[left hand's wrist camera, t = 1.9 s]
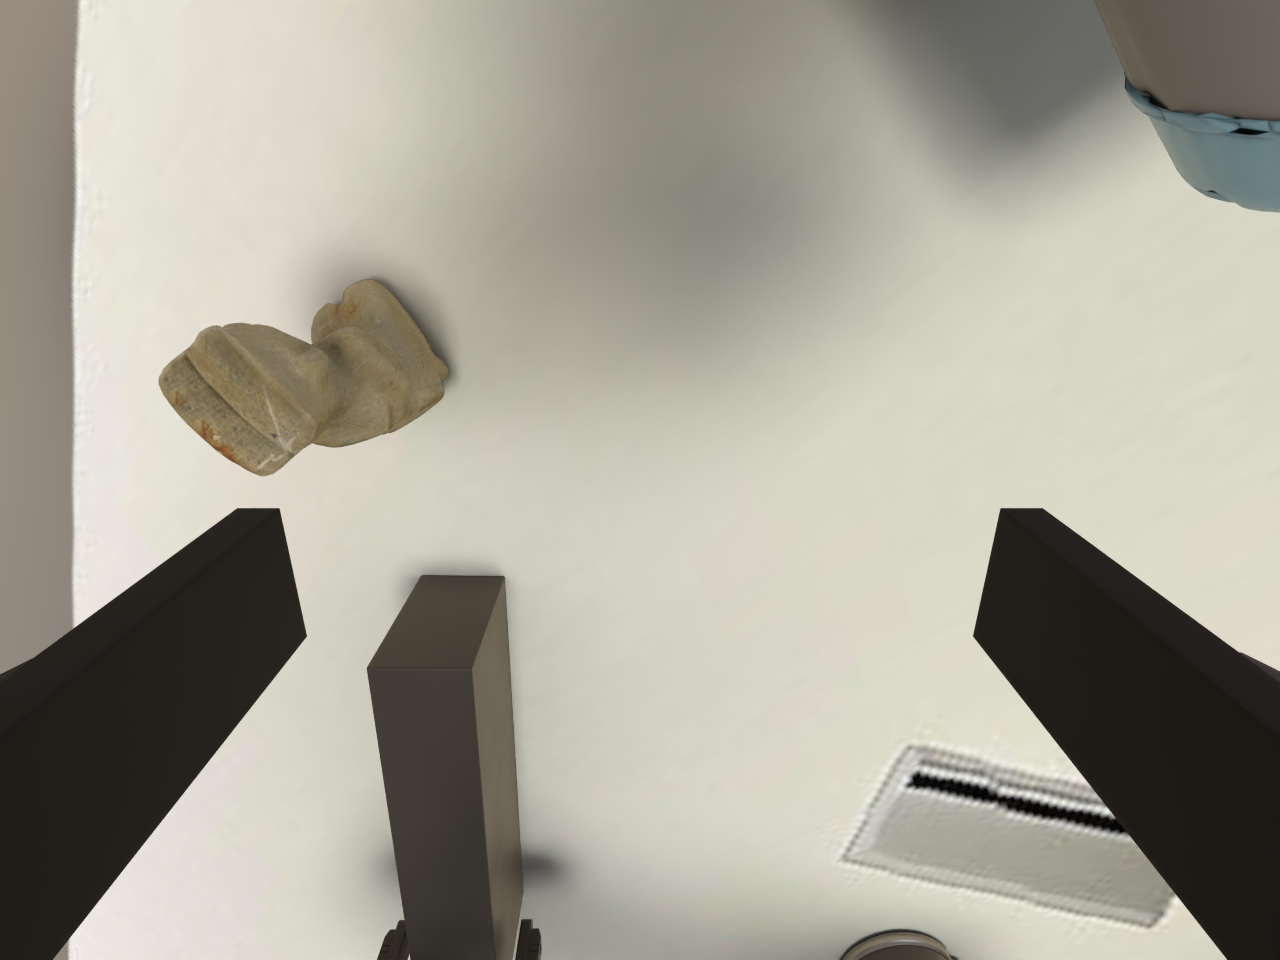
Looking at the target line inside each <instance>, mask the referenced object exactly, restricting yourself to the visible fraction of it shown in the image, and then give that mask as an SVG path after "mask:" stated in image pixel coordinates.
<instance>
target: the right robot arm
mask: <svg viewBox="0 0 1280 960" xmlns="http://www.w3.org/2000/svg"><path fill="white" fill-rule="evenodd" d="M541 951H542V949H541V935H540V931H539V929H533V922H532V919H522V920H521V926H520V932H519V939H518V946H517V952H516V959H515V960H540V959H541ZM409 953H410V952H409V945H408V939H407V932H406V925H405V920H399V922H398V925H397V928H396V930H390V931H389V932H388V933H387V935H386V936H385V938H384V941H383V944H382V947H381V950H380V953H379V956H378V959H377V960H408V957H409ZM842 960H957V959H953V958H951V957H950V956H949V953H948V952H947V950H946V949H945V948H944V946H943V945H941V944H940V943H939V942H938V941H936V940H934V939H933V938H930V937H928V936H925V935H922V934H917V933H910V932H895V933H887V934H883V935H879V936H876V937H873V938H870V939H868V940H866V941H863V942H862V943H860V944H858V945H857V946H855V947H854V948H853V949H851V950H850V951H849V952H848V953H847V954H846V955H845V957H844V958H843V959H842Z"/></svg>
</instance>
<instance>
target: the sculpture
mask: <svg viewBox="0 0 1280 960" xmlns="http://www.w3.org/2000/svg"><path fill="white" fill-rule="evenodd" d="M343 298H344V299H343V302H342V303H341V305H340V306H339V305H335V304H330V303H328V304H326V305H325V306H324V307H323V308H321V309H320V310H319V311H318V312H317V314H316V315H315V317H314V320H313V323H312V329H311V338H312V343H313V344H312V345H310V344H308V343H306V342H304V341H302V340H300V339H297V338H295V337H293V336H291V335H288V334H286V333H284V332H282V331H280V330H278V329H276V328H273V327H270V326H265V325H251V324H246V323H233V324H228V325H225V326H224V327H220V326H211V327H209V328H206V329H204V330H203V331H201V332H200V333H199V334H198V336H197V338H196V340H195V341H194V343H193V344H192V345H191V346H190V347H189V348H188V349H186V350H185V351H184V352H182V353H181V354H180V355H179V356H177V357H176V358H175V359H174V360H172V361H171V362H170V363H169V364H168V365H167V366H166V367H165V368H164V369H163V371H162V373H161V375H160V376H159V386H160V388H161V390H162V393H163V395H164V396H165V398H166V399H167V400H168V402H169V403H170V405H171V406H172V407H173V408H174V410H175V411H176V412H177V413H178V414H179V416H180V417H181V418H182V419H183V420H184V421H185V422H186V423H187V424H188V425H189V426H190V427H191V428H192V429H193V430H194V431H195V432H196V433H197V434H199V435H200V436H201V437H202V438H203V439H204V440H205V441H206V442H207V443H209V444H210V445H211V446H212V447H213V448H214V449H215V450H216V451H218V452H219V453H220V454H222V455H223V456H224V457H226V458H227V459H229V460H230V461H232V462H234V463H236V464H238V465H239V466H241V467H243V468H244V469H246V470H248V471H250V472H252V473H254V474H257V475H259V476H267V475H270V474H274V473H275V472H276V471H278V470H279V469H280V468H282V467H283V466H284V465H285V464H286V463H287V462H288V461H289V460H290V459H292V458H293V457H294V456H295V455H296V454H297V453H299V452H300V451H301V450H302V449H303V448H305V447H307V446H308V445H310V444H311V443H313V444H317V445H322V446H327V447H343V446H348V445H352V444H356V443H359V442H362V441H365V440H369V439H371V438H374V437H376V436H379V435H381V434H386V433H392V432H394V431H396V430H398V429H400V428H402V427H404V426H405V425H407V424H409V423H410V422H412V421H413V420H415V419H416V418H418V417H420V416H421V415H422V414H424V413H425V412H426V411H428V410H429V409H430V408H431V407H433V406H434V405H435V404H436V403H438V402H439V401H440V400H441V399H442V397H443V395H444V386H443V384H442V381H443V380H444V379H445V378H446V377H447V376H448V374H449V372H448V368H447V367H446V365H445V364H444V362H443V361H442V360H441V359H440V358H438V357H436V356H435V355H434V353H433V352H432V350H431V348H430V346H429V344H428V342H427V340H426V339H425V337H424V335H423V334H422V332H421V331H420V329H419V328H418V327H417V325H416V324H415V323H414V321H413V320H412V319H411V317H410V316H409V314H408V313H407V312H406V310H405V309H404V308H403V307H402V305H401V304H400V303H399V302H398V300H397V299H396V298H395V297H394V296H393V295H392V294H391V293H390V292H389V291H388V290H387V289H386V288H385V287H384V286H382V285H381V284H380V283H379V282H377V281H374V280H368V279H365V280H361V281H358V282H356V283H354V284H352V285H351V286H349V287H348V288H347V289H346V290H345V291H344V293H343Z"/></svg>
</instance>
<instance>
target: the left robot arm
mask: <svg viewBox="0 0 1280 960" xmlns="http://www.w3.org/2000/svg"><path fill="white" fill-rule="evenodd" d="M1095 3H1096V5H1097V7H1098V10H1099V12H1100V14H1101V17H1102V19H1103V21H1104V24H1105V26H1106V28H1107V31H1108V33H1109V35H1110V38H1111V40H1112V42H1113V45H1114V47H1115V50H1116V52H1117V54H1118V57H1119V59H1120V61H1121V64H1122V66H1123V68H1124V71H1125V72H1124V74H1125V89H1126V91H1127V94H1128V96H1129V98H1130V99H1131V101H1132V103H1133V104H1134V105H1135V106H1136V107H1137V108H1138V109H1139V110H1140V111H1142V112H1143V113H1144V114H1146V115H1148V116H1149V118H1150V120H1151V122H1152V123H1153V125H1154V127H1155V129H1156V131H1157V133H1158V135H1159V137H1160V139H1161V141H1162V143H1163V144H1164V146H1165V148H1166V150H1167V152H1168V154H1169V156H1170V158H1171V160H1172V162H1173V164H1174V165H1175V167H1176V169H1177V171H1178V172H1179V174H1180V175H1181V176H1182V177H1183V179H1184V180H1185V181H1186V182H1187V183H1188V184H1190V185H1191V186H1192V187H1193V188H1194V189H1196V190H1197V191H1199V192H1200V193H1202V194H1204V195H1205V196H1208V197H1211V198H1214V199H1218V200H1222V201H1226V202H1234V203H1236V204H1238V205H1239V206H1241V207H1243V208H1247V209H1251V210H1257V211H1267V212H1280V0H1095ZM306 637H307V634H306V630H305V625H304V620H303V616H302V611H301V606H300V602H299V597H298V592H297V588H296V583H295V579H294V574H293V569H292V565H291V560H290V555H289V551H288V546H287V541H286V537H285V532H284V527H283V523H282V518H281V513H280V509H279V508H237V509H236V510H234V511H233V512H232V513H230V514H229V515H228V516H226V517H225V518H224V519H222V520H221V521H219V522H218V523H217V524H215V525H214V526H213V527H211V528H210V529H209V530H207V531H206V532H204V533H203V534H202V535H200V536H199V537H198V538H196V539H195V540H194V541H192V542H191V543H189V544H188V545H187V546H185V547H184V548H183V549H181V550H180V551H179V552H177V553H176V554H174V555H173V556H172V557H170V558H169V559H168V560H166V561H165V562H164V563H162V564H161V565H160V566H158V567H157V568H155V569H154V570H153V571H151V572H150V573H149V574H147V575H146V576H145V577H143V578H142V579H140V580H139V581H138V582H136V583H135V584H134V585H132V586H131V587H130V588H128V589H127V590H125V591H124V592H123V593H121V594H120V595H119V596H117V597H116V598H115V599H113V600H112V601H110V602H109V603H108V604H106V605H105V606H104V607H102V608H101V609H100V610H98V611H97V612H96V613H94V614H93V615H91V616H90V617H89V618H87V619H86V620H85V621H83V622H82V623H81V624H79V625H78V626H76V627H75V628H74V629H72V630H71V631H70V632H68V633H67V634H66V635H64V636H63V637H62V638H60V639H59V640H57V641H56V642H55V643H53V644H52V645H51V646H49V647H48V648H46V649H45V650H44V651H42V652H41V653H40V654H38V655H37V656H36V657H34V658H32V659H30V660H28V661H26V662H24V663H22V664H20V665H18V666H16V667H14V668H12V669H10V670H8V671H6V672H4V673H2V674H0V960H53V959H54V957H55V956H56V955H57V954H58V952H59V951H60V950H61V948H62V947H63V946H64V945H65V943H66V942H67V941H68V940H69V938H70V937H71V936H72V934H73V933H74V932H75V931H76V929H77V928H78V927H79V926H80V924H81V923H82V922H83V920H84V919H85V918H86V917H87V915H88V914H89V913H90V912H91V910H92V909H93V908H94V906H95V905H96V904H97V903H98V901H99V900H100V899H101V898H102V896H103V895H104V894H105V892H106V891H107V890H108V889H109V887H110V886H111V885H112V884H113V882H114V881H115V880H116V878H117V877H118V876H119V875H120V873H121V872H122V871H123V870H124V868H125V867H126V866H127V864H128V863H129V862H130V861H131V859H132V858H133V857H134V856H135V854H136V853H137V852H138V851H139V849H140V848H141V847H142V845H143V844H144V843H145V842H146V840H147V839H148V838H149V837H150V835H151V834H152V833H153V831H154V830H155V829H156V828H157V826H158V825H159V824H160V823H161V821H162V820H163V819H164V817H165V816H166V815H167V814H168V812H169V811H170V810H171V809H172V807H173V806H174V805H175V803H176V802H177V801H178V800H179V798H180V797H181V796H182V795H183V793H184V792H185V791H186V789H187V788H188V787H189V786H190V784H191V783H192V782H193V781H194V779H195V778H196V777H197V775H198V774H199V773H200V772H201V770H202V769H203V768H204V767H205V765H206V764H207V763H208V761H209V760H210V759H211V758H212V756H213V755H214V754H215V753H216V751H217V750H218V749H219V747H220V746H221V745H222V744H223V742H224V741H225V740H226V739H227V737H228V736H229V735H230V733H231V732H232V731H233V730H234V728H235V727H236V726H237V725H238V723H239V722H240V721H241V720H242V718H243V717H244V716H245V714H246V713H247V712H248V711H249V709H250V708H251V707H252V706H253V704H254V703H255V702H256V700H257V699H258V698H259V697H260V695H261V694H262V693H263V692H264V690H265V689H266V688H267V686H268V685H269V684H270V683H271V681H272V680H273V679H274V678H275V676H276V675H277V674H278V672H279V671H280V670H281V669H282V667H283V666H284V665H285V664H286V662H287V661H288V660H289V658H290V657H291V656H292V655H293V653H294V652H295V651H296V650H297V648H298V647H299V646H300V644H301V643H302V642H303V641H304V639H305V638H306ZM973 637H974V638H975V639H976V641H977V642H978V643H979V644H980V646H981V647H982V648H983V650H984V651H985V652H986V653H987V655H988V656H989V657H990V658H991V660H992V661H993V662H994V664H995V665H996V666H997V667H998V669H999V670H1000V671H1001V672H1002V674H1003V675H1004V676H1005V678H1006V679H1007V680H1008V681H1009V683H1010V684H1011V685H1012V686H1013V688H1014V689H1015V690H1016V692H1017V693H1018V694H1019V695H1020V697H1021V698H1022V699H1023V700H1024V702H1025V703H1026V704H1027V706H1028V707H1029V708H1030V709H1031V711H1032V712H1033V713H1034V714H1035V716H1036V717H1037V718H1038V720H1039V721H1040V722H1041V723H1042V725H1043V726H1044V727H1045V728H1046V730H1047V731H1048V732H1049V733H1050V735H1051V736H1052V737H1053V739H1054V740H1055V741H1056V742H1057V744H1058V745H1059V746H1060V747H1061V749H1062V750H1063V751H1064V753H1065V754H1066V755H1067V756H1068V758H1069V759H1070V760H1071V761H1072V763H1073V764H1074V765H1075V767H1076V768H1077V769H1078V770H1079V772H1080V773H1081V774H1082V775H1083V777H1084V778H1085V779H1086V781H1087V782H1088V783H1089V784H1090V786H1091V787H1092V788H1093V789H1094V791H1095V792H1096V793H1097V795H1098V796H1099V797H1100V798H1101V800H1102V801H1103V802H1104V803H1105V805H1106V806H1107V807H1108V809H1109V810H1110V811H1111V812H1112V814H1113V815H1114V816H1115V817H1116V819H1117V820H1118V821H1119V823H1120V824H1121V825H1122V826H1123V828H1124V829H1125V830H1126V831H1127V833H1128V834H1129V835H1130V837H1131V838H1132V839H1133V840H1134V842H1135V843H1136V844H1137V845H1138V847H1139V848H1140V849H1141V851H1142V852H1143V853H1144V854H1145V856H1146V857H1147V858H1148V859H1149V861H1150V862H1151V863H1152V864H1153V866H1154V867H1155V868H1156V870H1157V871H1158V872H1159V873H1160V875H1161V876H1162V877H1163V878H1164V880H1165V881H1166V882H1167V884H1168V885H1169V886H1170V887H1171V889H1172V890H1173V891H1174V892H1175V894H1176V895H1177V896H1178V898H1179V899H1180V900H1181V901H1182V903H1183V904H1184V905H1185V906H1186V908H1187V909H1188V910H1189V912H1190V913H1191V914H1192V915H1193V917H1194V918H1195V919H1196V920H1197V922H1198V923H1199V924H1200V926H1201V927H1202V928H1203V929H1204V931H1205V932H1206V933H1207V934H1208V936H1209V937H1210V938H1211V940H1212V941H1213V942H1214V943H1215V945H1216V946H1217V947H1218V948H1219V950H1220V951H1221V952H1222V954H1223V955H1224V956H1225V957H1226V959H1227V960H1280V671H1278V670H1276V669H1274V668H1272V667H1270V666H1268V665H1266V664H1264V663H1262V662H1260V661H1258V660H1256V659H1254V658H1252V657H1250V656H1248V655H1246V654H1244V653H1239V652H1238V651H1236V650H1235V649H1234V648H1232V647H1231V646H1229V645H1228V644H1227V643H1225V642H1224V641H1223V640H1221V639H1220V638H1219V637H1217V636H1216V635H1214V634H1213V633H1212V632H1210V631H1209V630H1208V629H1206V628H1205V627H1204V626H1202V625H1201V624H1199V623H1198V622H1197V621H1195V620H1194V619H1193V618H1191V617H1190V616H1189V615H1187V614H1186V613H1184V612H1183V611H1182V610H1180V609H1179V608H1178V607H1176V606H1175V605H1174V604H1172V603H1171V602H1170V601H1168V600H1167V599H1165V598H1164V597H1163V596H1161V595H1160V594H1159V593H1157V592H1156V591H1155V590H1153V589H1152V588H1150V587H1149V586H1148V585H1146V584H1145V583H1144V582H1142V581H1141V580H1140V579H1138V578H1137V577H1135V576H1134V575H1133V574H1131V573H1130V572H1129V571H1127V570H1126V569H1125V568H1123V567H1122V566H1120V565H1119V564H1118V563H1116V562H1115V561H1114V560H1112V559H1111V558H1110V557H1108V556H1107V555H1106V554H1104V553H1103V552H1101V551H1100V550H1099V549H1097V548H1096V547H1095V546H1093V545H1092V544H1091V543H1089V542H1088V541H1086V540H1085V539H1084V538H1082V537H1081V536H1080V535H1078V534H1077V533H1076V532H1074V531H1073V530H1071V529H1070V528H1069V527H1067V526H1066V525H1065V524H1063V523H1062V522H1061V521H1059V520H1058V519H1056V518H1055V517H1054V516H1052V515H1051V514H1050V513H1048V512H1047V511H1046V510H1044V509H1043V508H1001V509H1000V513H999V518H998V523H997V527H996V532H995V537H994V541H993V546H992V551H991V555H990V560H989V565H988V569H987V574H986V579H985V583H984V588H983V592H982V597H981V602H980V606H979V611H978V616H977V620H976V625H975V630H974V634H973Z"/></svg>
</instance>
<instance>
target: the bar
mask: <svg viewBox="0 0 1280 960" xmlns="http://www.w3.org/2000/svg"><path fill="white" fill-rule="evenodd" d="M367 673H368V680H369V686H370V693H371V699H372V706H373V713H374V719H375V726H376V733H377V739H378V746H379V753H380V759H381V766H382V773H383V779H384V786H385V792H386V799H387V806H388V812H389V819H390V826H391V832H392V839H393V846H394V852H395V859H396V866H397V872H398V879H399V885H400V892H401V899H402V905H403V912H404V919H405V925H406V932H407V939H408V945H409V952H410V959H411V960H512V959H513V952H514V946H515V940H516V934H517V928H518V921H519V915H520V909H521V903H522V897H523V881H522V864H521V847H520V830H519V813H518V796H517V779H516V762H515V745H514V728H513V711H512V694H511V677H510V660H509V643H508V626H507V609H506V592H505V578H504V577H481V576H421V577H420V579H419V581H418V582H417V584H416V586H415V587H414V589H413V591H412V592H411V594H410V596H409V597H408V599H407V601H406V603H405V604H404V606H403V608H402V609H401V611H400V613H399V614H398V616H397V618H396V619H395V621H394V623H393V624H392V626H391V628H390V630H389V631H388V633H387V635H386V636H385V638H384V640H383V641H382V643H381V645H380V646H379V648H378V650H377V652H376V653H375V655H374V657H373V658H372V660H371V662H370V663H369V665H368V667H367Z"/></svg>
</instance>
